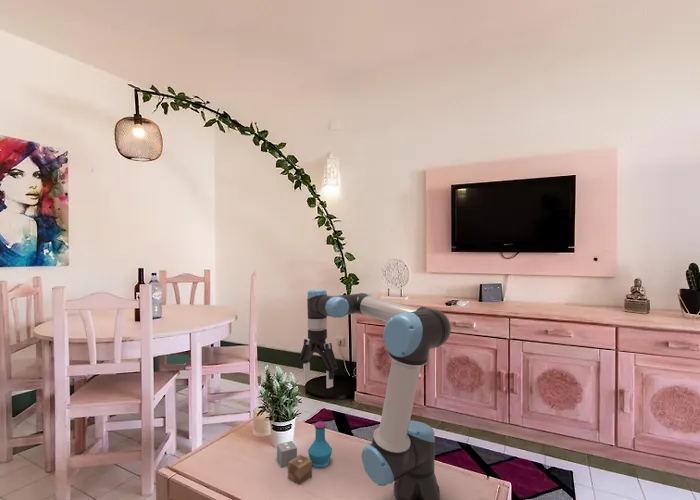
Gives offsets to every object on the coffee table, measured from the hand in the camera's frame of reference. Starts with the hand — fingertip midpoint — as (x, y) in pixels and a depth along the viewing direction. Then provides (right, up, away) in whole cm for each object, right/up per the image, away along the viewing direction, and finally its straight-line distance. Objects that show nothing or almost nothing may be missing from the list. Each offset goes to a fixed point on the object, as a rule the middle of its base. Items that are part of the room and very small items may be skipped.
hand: (317, 383), depth 147 cm
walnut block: (-5, -30, -12) cm, 32 cm away
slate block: (-12, -29, -2) cm, 32 cm away
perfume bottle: (+1, -30, -3) cm, 30 cm away
